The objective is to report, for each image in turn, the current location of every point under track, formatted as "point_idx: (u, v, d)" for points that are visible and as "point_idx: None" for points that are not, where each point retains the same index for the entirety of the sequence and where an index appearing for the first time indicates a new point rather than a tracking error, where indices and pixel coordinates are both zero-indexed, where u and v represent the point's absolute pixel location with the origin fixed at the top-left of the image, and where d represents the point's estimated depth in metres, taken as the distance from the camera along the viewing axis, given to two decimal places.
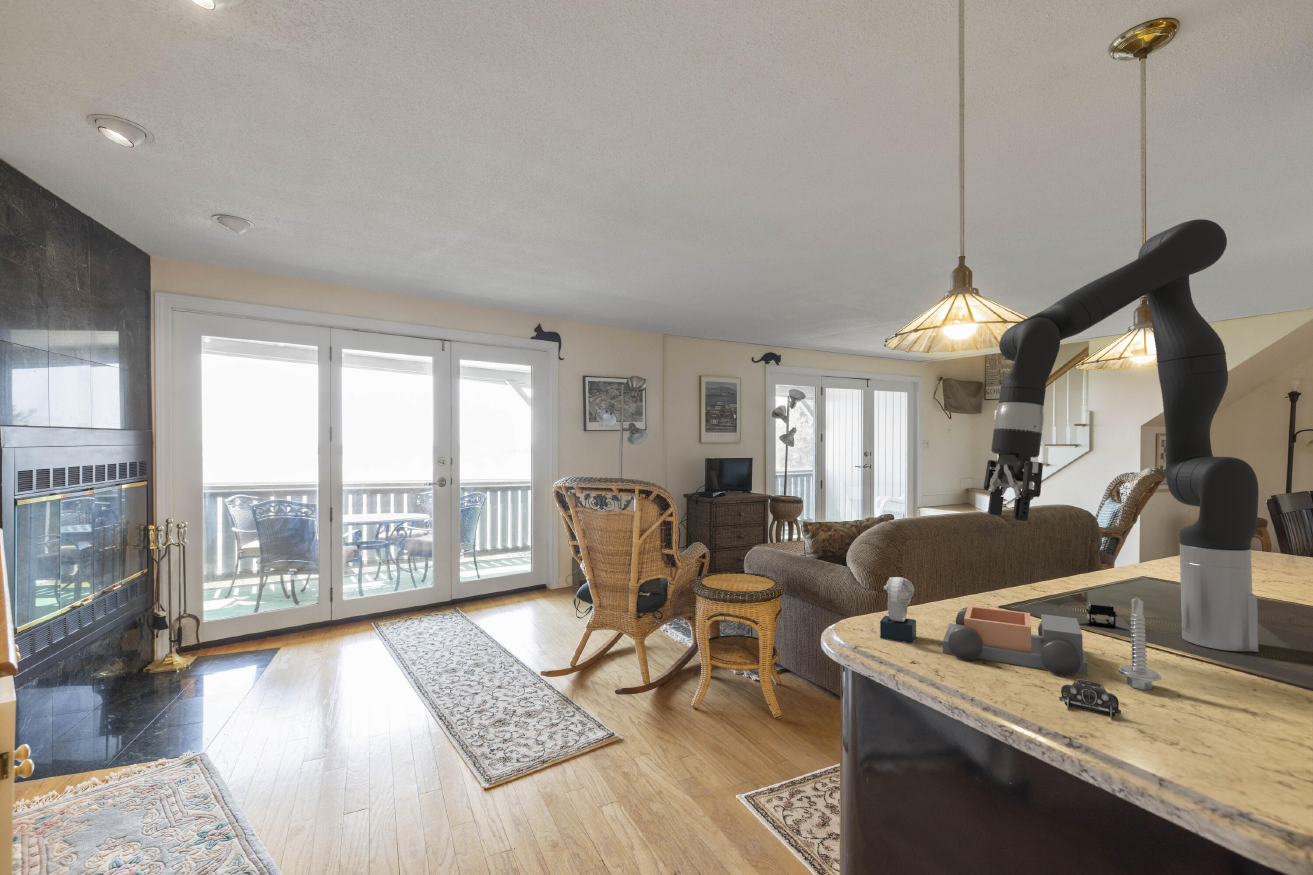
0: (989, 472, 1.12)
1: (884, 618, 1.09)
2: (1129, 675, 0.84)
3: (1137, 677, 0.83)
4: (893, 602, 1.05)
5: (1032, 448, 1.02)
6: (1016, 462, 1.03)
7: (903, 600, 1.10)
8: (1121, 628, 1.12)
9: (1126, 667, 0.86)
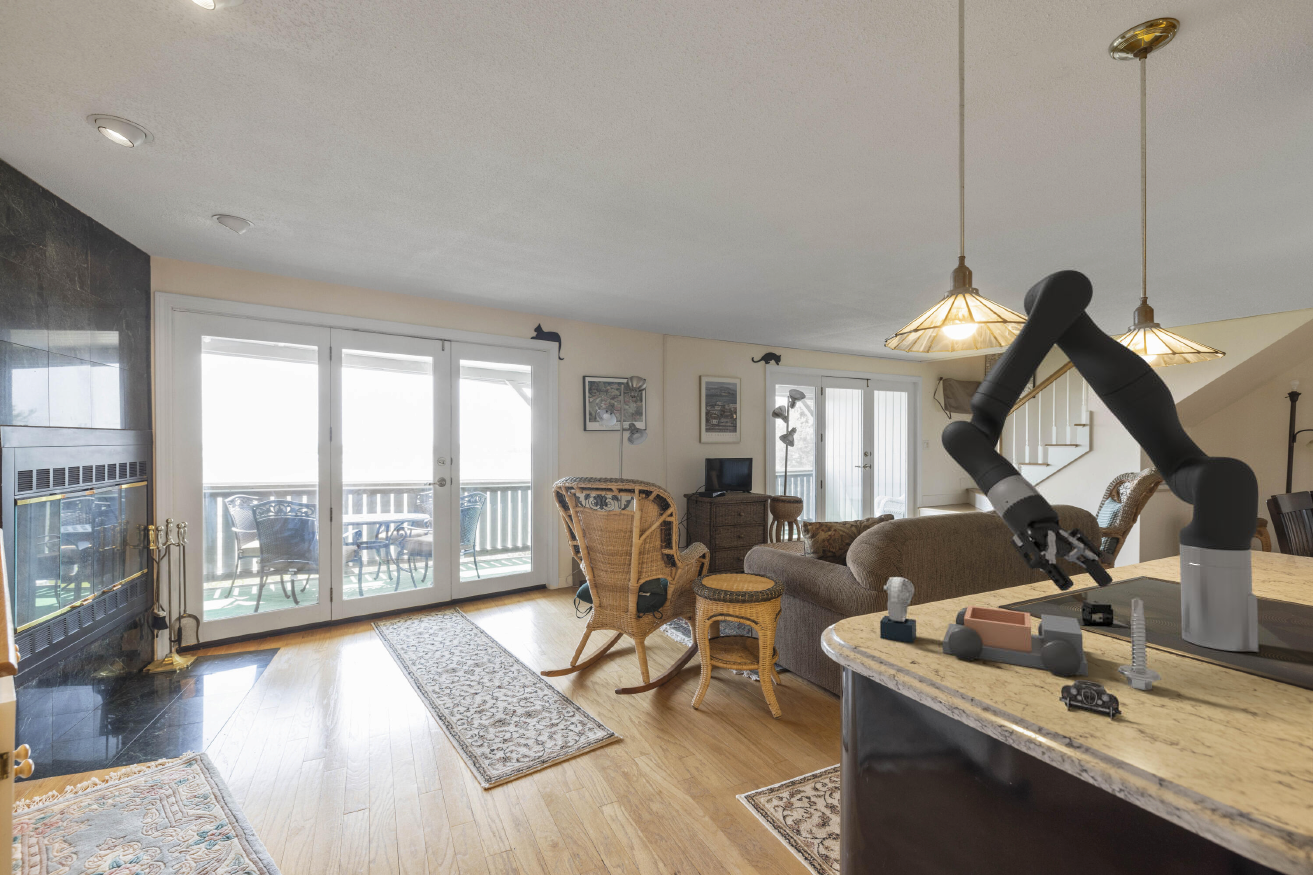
0: (1074, 547, 1.00)
1: (884, 618, 1.09)
2: (1129, 675, 0.84)
3: (1137, 677, 0.83)
4: (893, 602, 1.05)
5: (1022, 519, 0.99)
6: None
7: (903, 600, 1.10)
8: (1120, 625, 1.14)
9: (1126, 667, 0.86)
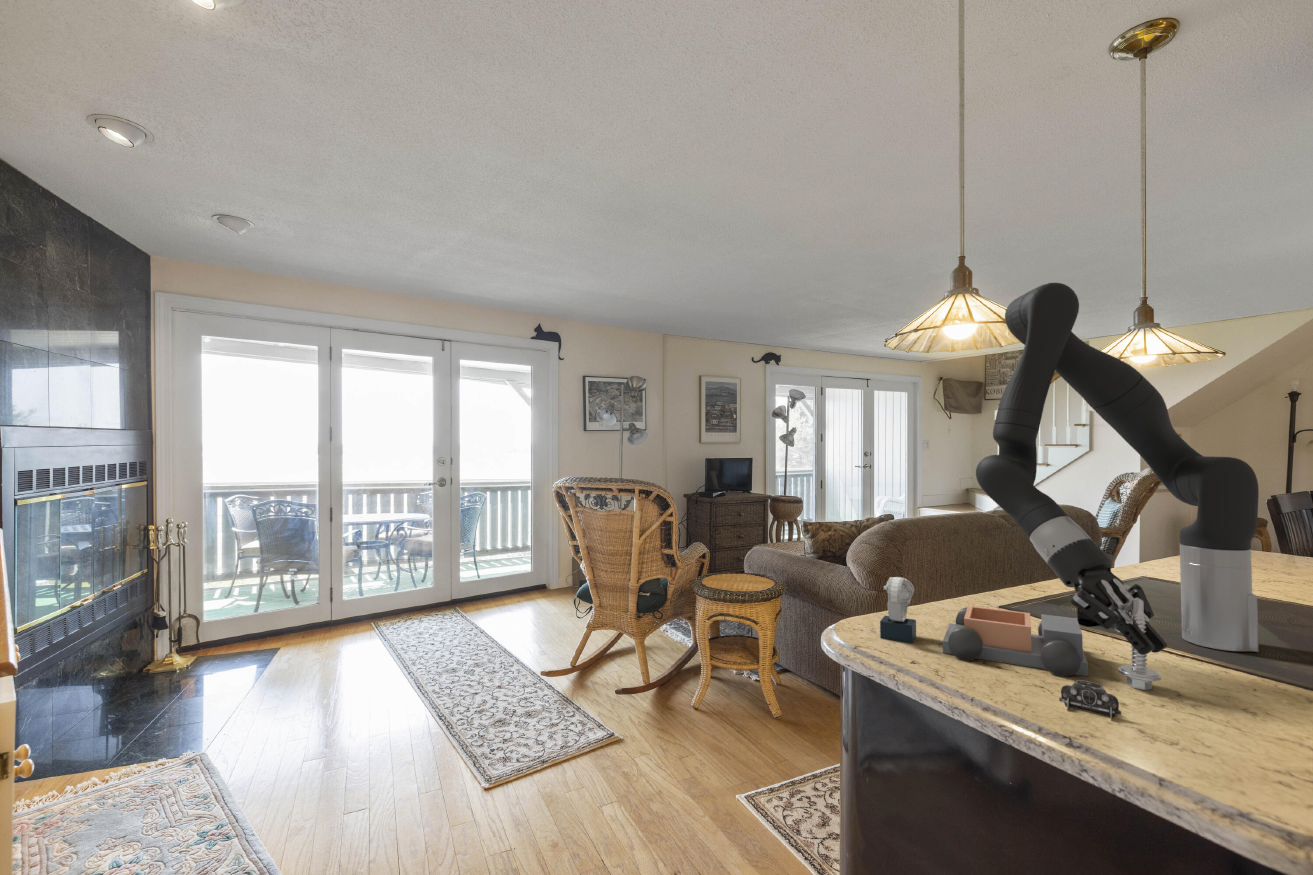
0: None
1: (884, 618, 1.09)
2: (1129, 675, 0.84)
3: (1137, 677, 0.83)
4: (893, 602, 1.05)
5: (1071, 566, 0.91)
6: None
7: (903, 600, 1.10)
8: None
9: (1126, 667, 0.86)
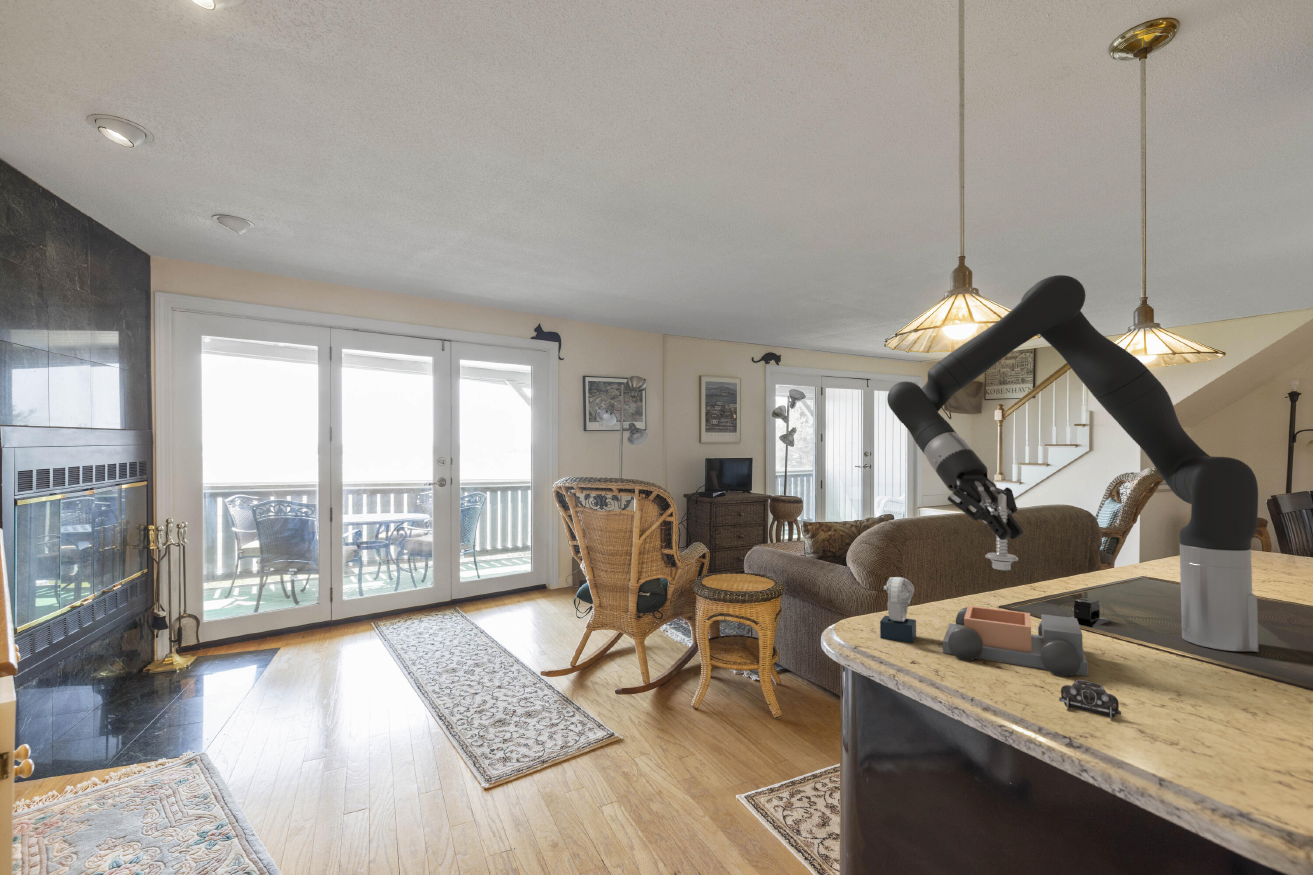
0: None
1: (884, 618, 1.09)
2: (992, 558, 0.99)
3: (997, 559, 0.98)
4: (893, 602, 1.05)
5: (952, 471, 1.05)
6: None
7: (903, 600, 1.10)
8: (1105, 619, 1.18)
9: (992, 553, 1.01)
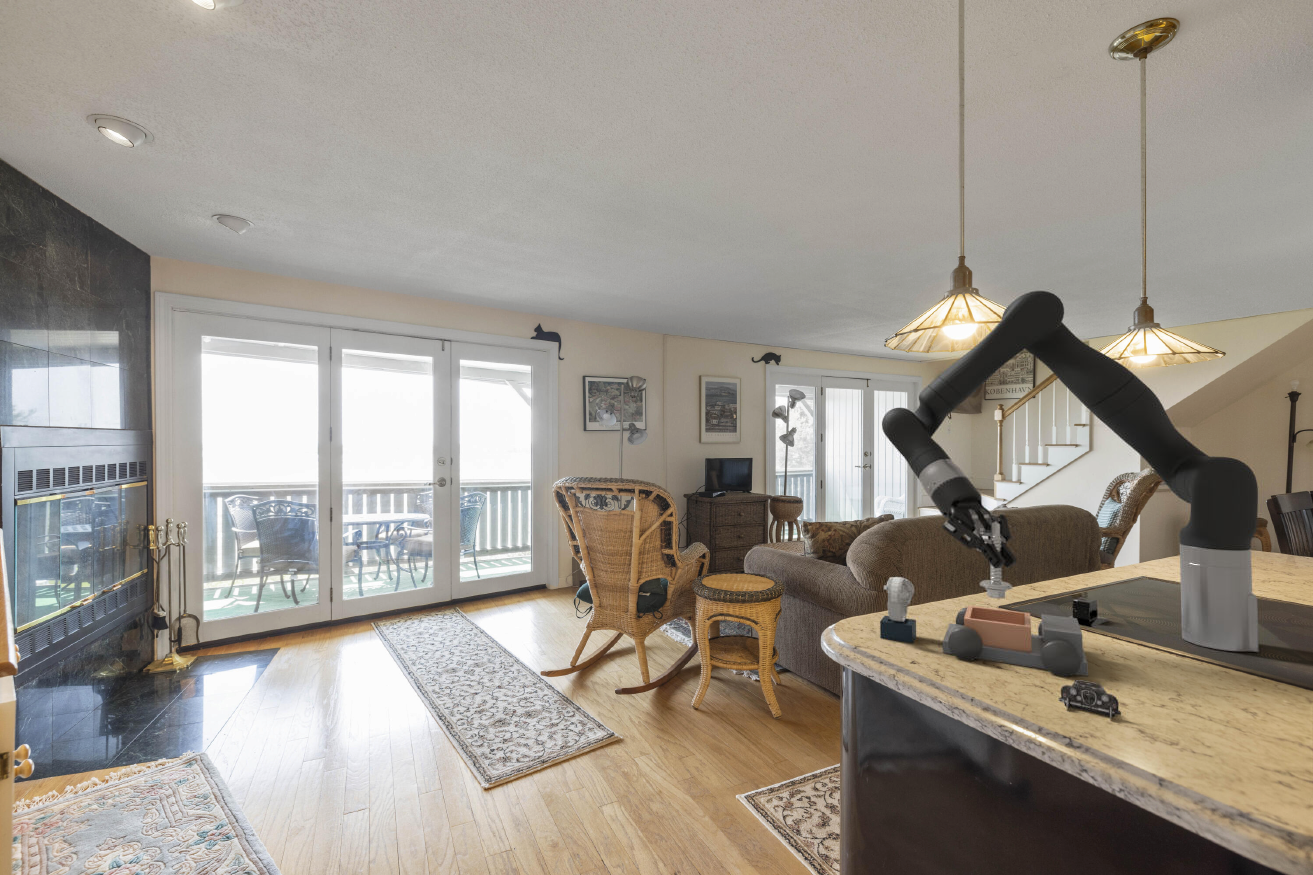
0: None
1: (884, 618, 1.09)
2: (986, 586, 1.00)
3: (992, 587, 0.99)
4: (893, 602, 1.05)
5: (946, 499, 1.07)
6: None
7: (903, 600, 1.10)
8: (1103, 619, 1.18)
9: (986, 581, 1.02)
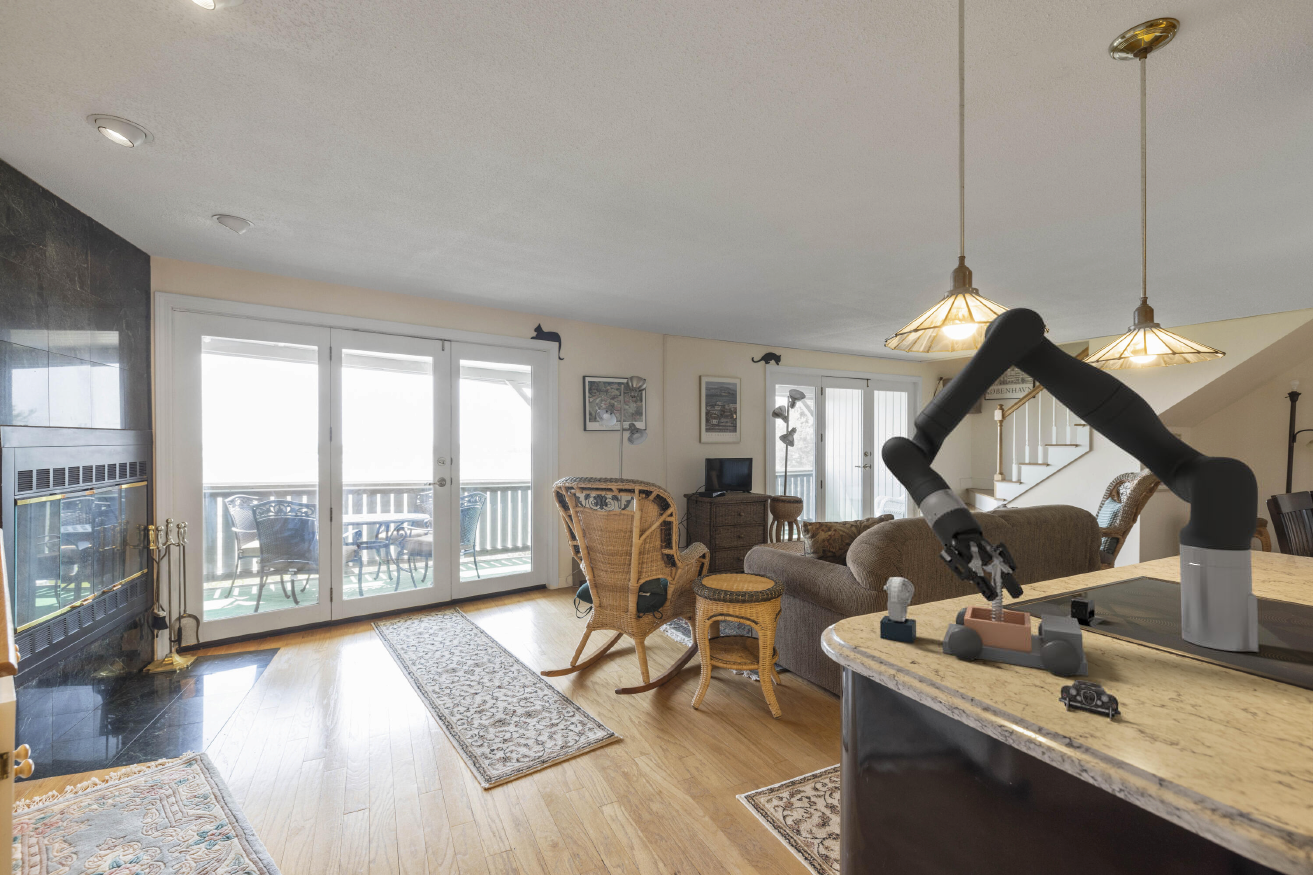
0: None
1: (884, 618, 1.09)
2: None
3: None
4: (893, 602, 1.05)
5: (947, 530, 1.06)
6: None
7: (903, 600, 1.10)
8: (1100, 618, 1.18)
9: None
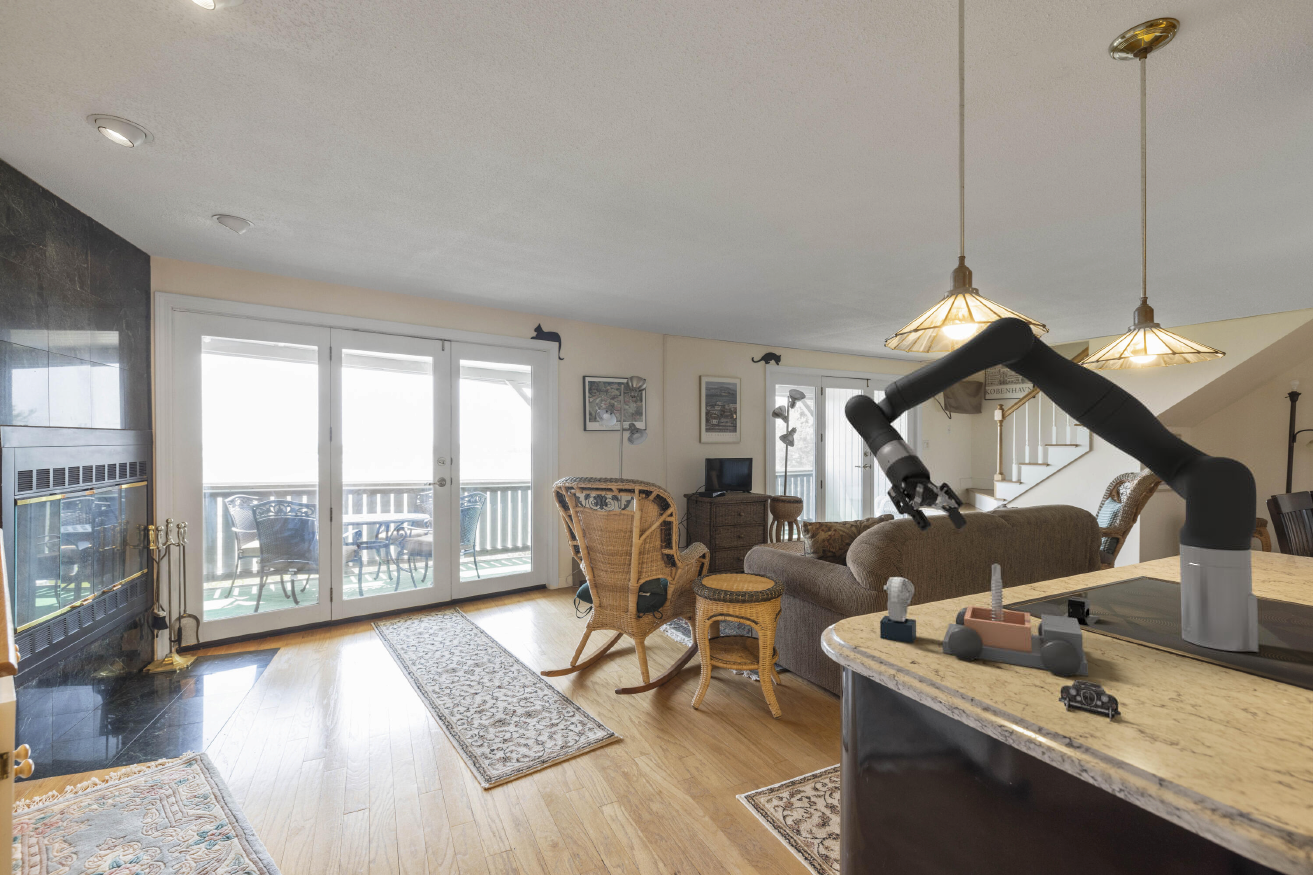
0: None
1: (884, 618, 1.09)
2: None
3: None
4: (893, 602, 1.05)
5: (898, 475, 1.18)
6: None
7: (903, 600, 1.10)
8: (1094, 617, 1.19)
9: None
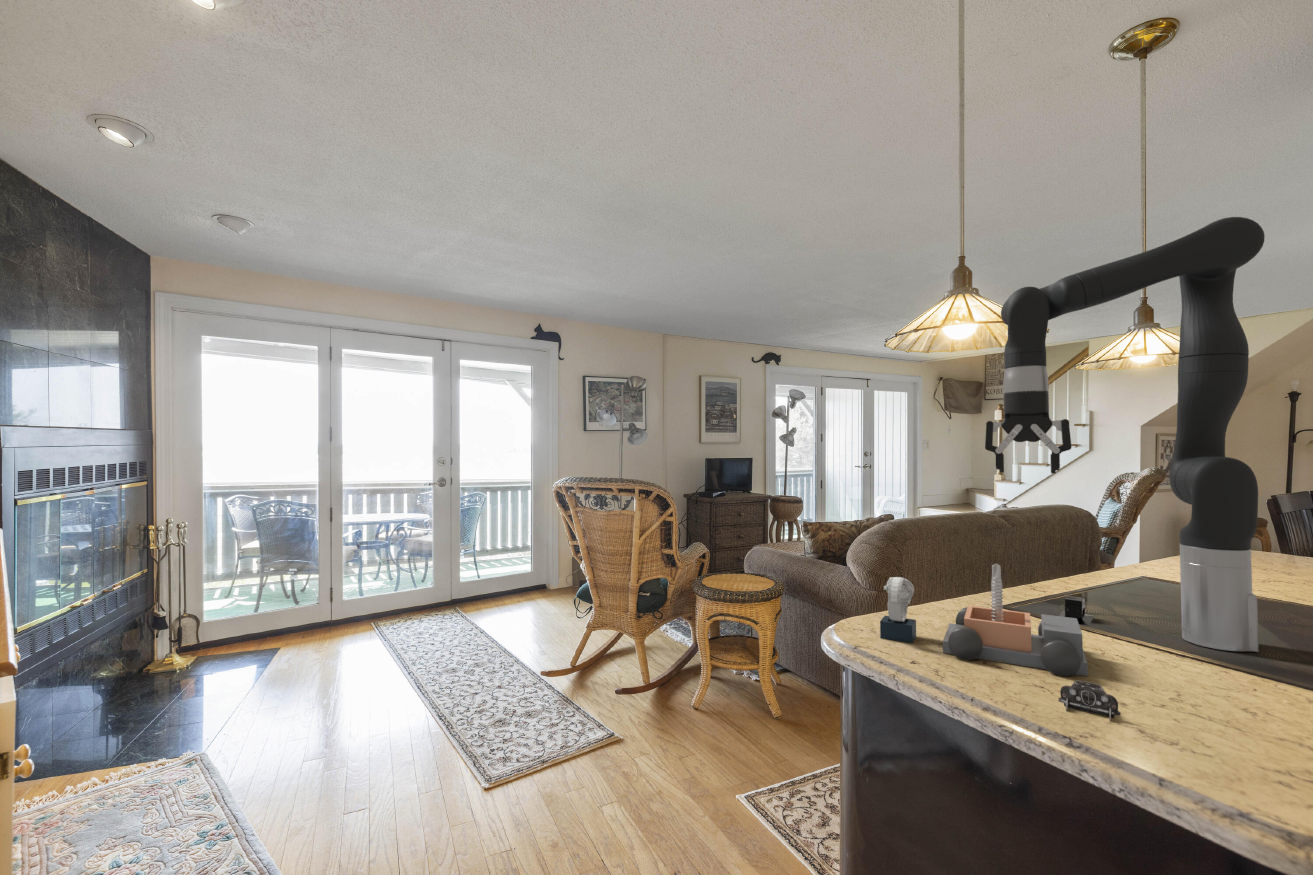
0: None
1: (884, 618, 1.09)
2: None
3: None
4: (893, 602, 1.05)
5: (1004, 408, 1.16)
6: None
7: (903, 600, 1.10)
8: (1089, 616, 1.20)
9: None
